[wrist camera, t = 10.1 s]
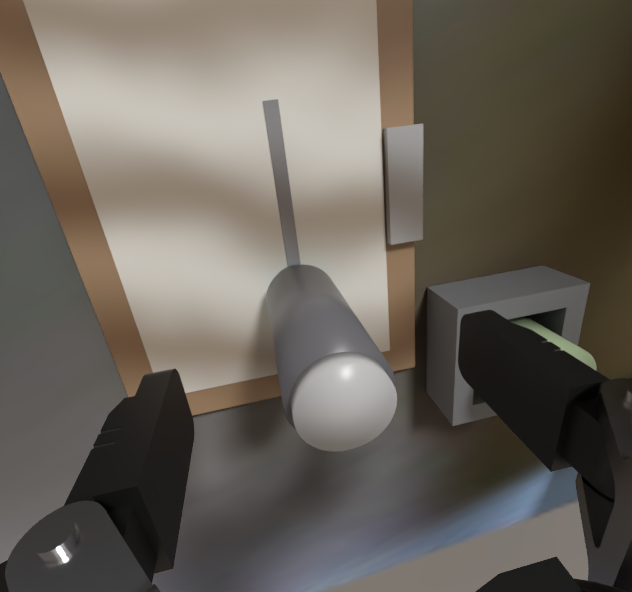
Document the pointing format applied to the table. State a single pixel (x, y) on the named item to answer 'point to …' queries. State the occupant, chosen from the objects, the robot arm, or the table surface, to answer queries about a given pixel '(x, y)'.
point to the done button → (556, 340)
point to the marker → (327, 363)
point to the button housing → (508, 301)
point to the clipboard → (223, 170)
